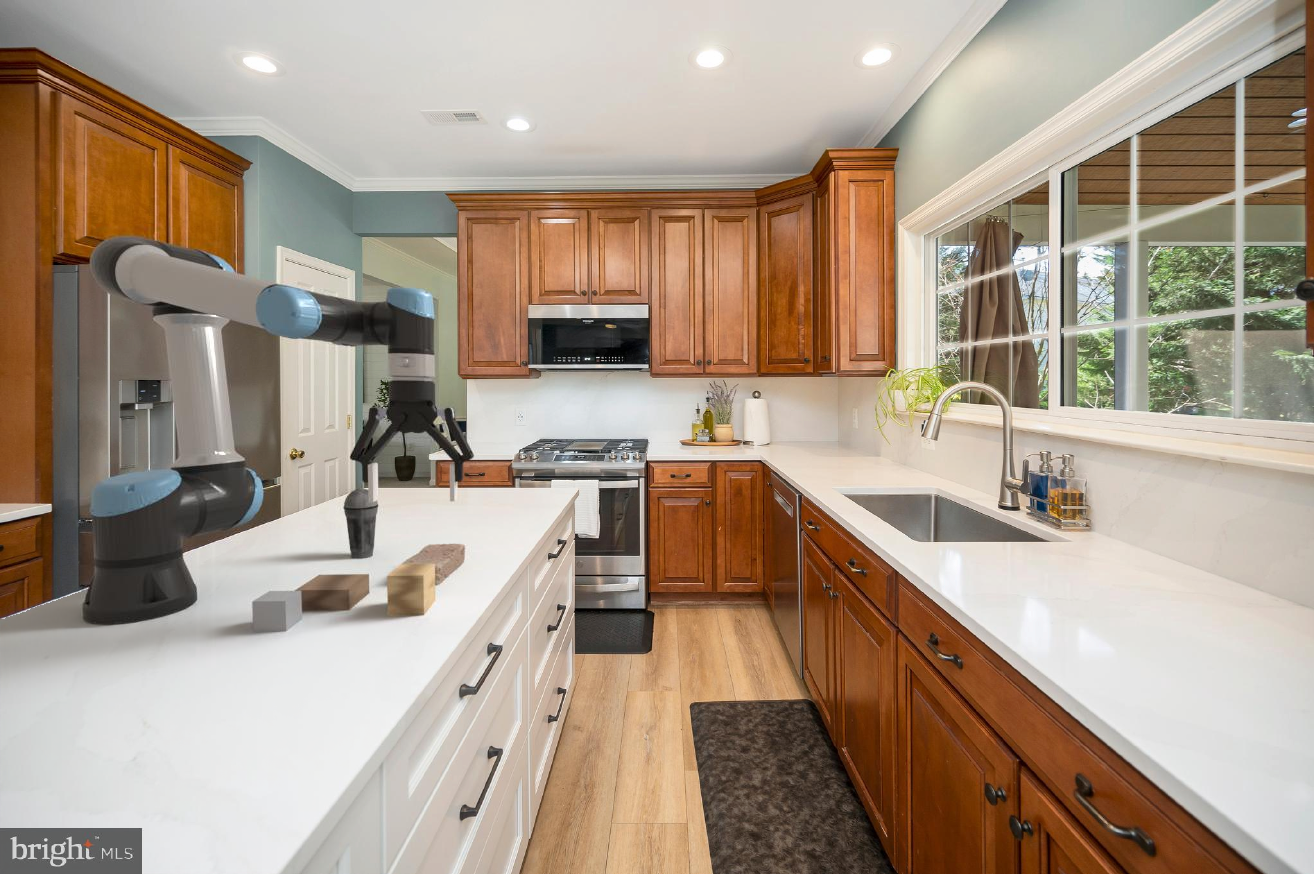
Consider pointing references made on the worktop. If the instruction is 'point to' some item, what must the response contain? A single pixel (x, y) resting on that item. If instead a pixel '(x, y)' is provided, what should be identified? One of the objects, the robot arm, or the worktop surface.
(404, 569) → the oak block
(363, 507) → the beverage cup
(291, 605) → the grey block
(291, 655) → the worktop surface
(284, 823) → the worktop surface
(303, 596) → the walnut block
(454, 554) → the brick
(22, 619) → the worktop surface
